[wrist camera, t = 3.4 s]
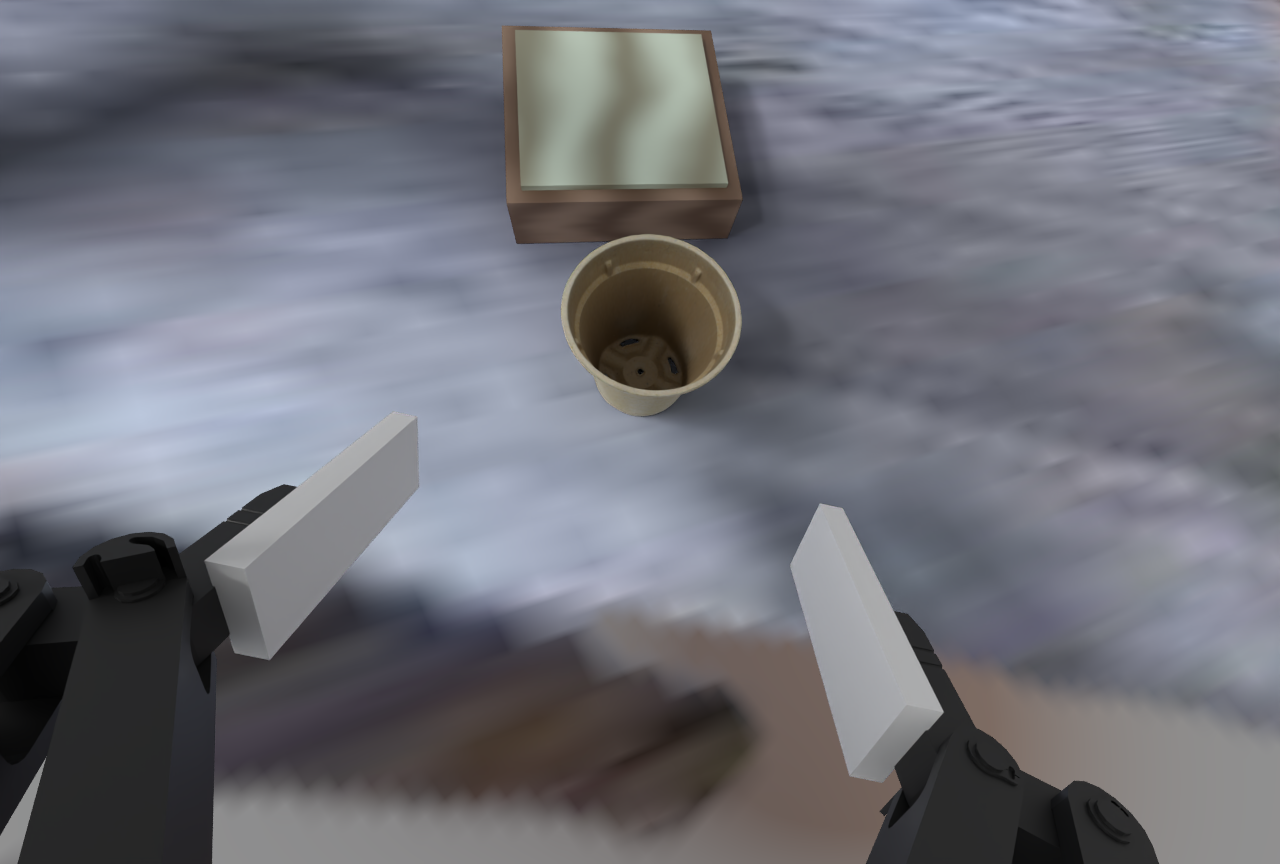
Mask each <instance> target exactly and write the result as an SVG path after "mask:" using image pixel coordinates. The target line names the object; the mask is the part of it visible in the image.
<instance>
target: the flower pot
mask: <svg viewBox="0 0 1280 864" xmlns="http://www.w3.org/2000/svg"><path fill="white" fill-rule="evenodd" d="M561 318H562V325H563V329H564V334H565V337H566V340H567V342H568V344H569V346H570V348H571V350H572V352H573V354H574V355H575V357H576V358H577V359H578V361H579V362H580V363H581V364H582V366H583V367H584V368H585V369H586V370H587V371H588V372H589V373H590V374H592V375H593V376H594V379H595V382H596V385H597V387H598V390H599V392H600V393H601V395H602V397H603V398H604V399H605V400H606V401H607V402H608V403H609V404H610V405H611V406H613V407H614V408H616V409H618V410H620V411H622V412H624V413H626V414H629V415H633V416H649V415H654V414H657V413H659V412H662V411H664V410H665V409H667V408H668V407H670V406H671V405H672V404H673V403H674V402H675V401H676V400H677V399H678V398H679V396H680V395H682V394H685V393H688V392H691V391H693V390H695V389H697V388H699V387H701V386H703V385H704V384H706V383H708V382H709V381H711V380H712V379H713V378H714V377H715V376H717V375H718V374H719V373H720V372H721V371H722V370H723V368H724V367H725V366H726V364H727V363H728V362H729V360H730V359H731V357H732V355H733V353H734V352H735V349H736V347H737V345H738V342H739V338H740V333H741V327H742V317H741V308H740V303H739V300H738V297H737V293H736V291H735V289H734V287H733V285H732V283H731V281H730V279H729V278H728V276H727V275H726V273H725V272H724V271H723V269H722V268H721V267H720V266H719V265H718V264H717V263H716V262H715V261H714V260H713V259H712V258H711V257H709V256H708V255H707V254H706V253H704V252H703V251H701V250H700V249H698V248H697V247H695V246H693V245H691V244H689V243H686V242H684V241H681V240H679V239H675V238H672V237H670V236H662V235H654V234H642V235H631V236H628V237H623V238H620V239H617V240H614V241H611V242H608V243H606V244H604V245H602V246H601V247H599V248H597V249H596V250H594V251H593V252H591V253H590V254H589V255H588V256H587V257H585V258H584V259H583V260H582V261H581V262H580V263H579V265H578V266H577V267H576V268H575V270H574V271H573V273H572V274H571V276H570V278H569V280H568V281H567V284H566V286H565V289H564V293H563V297H562V304H561ZM629 339H636V340H638V342H637V343H632V344H628V345H625V346H621V343H622V342H623V341H625V340H629ZM668 358H671V359H672V361H673V362H674V363H675V366H676V368H677V371H678V373H676V374H674V373H672V371H671V366H670V364H669V361H668ZM639 369H642V370H643V371H644V372H643V373H642V374H641V375H640V374H639V373H638V370H639ZM605 374H607V376H605Z"/></svg>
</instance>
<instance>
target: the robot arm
mask: <svg viewBox="0 0 1280 864" xmlns="http://www.w3.org/2000/svg"><path fill="white" fill-rule="evenodd" d="M418 488H419V463H418V428H417V416H412V415H407V414H403V413H398V412H394V411H393V412H392V413H390V414H389V415H388V416H387V417H385V418H384V419H383V420H382V421H380V422H379V423H378V424H377V425H375V426H374V427H373V428H371V429H370V430H369V431H368V432H366V433H365V434H364V435H363V436H361V437H360V438H359V439H358V440H356V441H355V442H354V443H353V444H351V445H350V446H349V447H347V448H346V449H345V450H344V451H342V452H341V453H340V454H339V455H337V456H336V457H335V458H334V459H332V460H331V461H330V462H328V463H327V464H326V465H325V466H323V467H322V468H321V469H320V470H318V471H317V472H316V473H315V474H313V475H312V476H311V477H310V478H308V479H307V480H306V481H304V482H303V483H302V484H301V485H299V486H298V487H295V486H290V485H285V484H283V485H281V486H279V487H276V488H274V489H271V490H269V491H267V492H264V493H262V494H260V495H259V496H257V497H256V498H254V499H253V500H252V501H250V502H249V503H248V504H246V505H245V506H244V507H242V510H241V511H240V510H238V511H237V512H235V513H234V514H233V515H231V516H230V517H229V518H227V521H226V522H224V521H223V522H222V523H221V524H219V525H218V526H217V527H215V528H214V529H212V530H211V531H210V532H208V533H207V534H206V535H204V536H203V537H202V538H200V539H199V540H198V541H196V542H195V543H193V544H192V545H191V546H189V547H188V548H187V549H185V550H184V551H183V552H181V553H180V554H179V553H178V550H177V548H176V545H175V542H174V539H173V538H171V537H169V536H168V535H166V534H163V533H155V532H144V533H134V534H128V535H125V536H121V537H117V538H114V539H111V540H108V541H106V542H104V543H102V544H100V545H97V546H95V547H93V548H92V549H90V550H89V551H88V552H86V553H85V554H83V555H82V556H81V557H79V559H78V560H77V562H76V563H75V565H74V566H73V567H72V568H73V570H74V572H75V574H76V576H77V577H78V579H79V581H80V583H81V585H82V587H63V588H50V586H49V584H48V582H47V581H46V579H45V577H44V575H43V573H40V572H37V571H34V570H32V569H12V570H6V571H0V835H1V833H2V831H3V830H4V828H5V826H6V825H7V823H8V821H9V819H10V818H11V816H12V814H13V813H14V811H15V809H16V808H17V806H18V804H19V802H20V801H21V799H22V797H23V796H24V794H25V792H26V790H27V789H28V787H29V785H30V784H31V782H32V780H33V779H34V777H35V775H36V773H37V772H38V770H39V768H40V767H41V765H42V763H43V762H44V760H45V758H46V761H45V764H44V768H43V772H42V776H41V779H40V783H39V787H38V791H37V794H36V798H35V801H34V805H33V809H32V812H31V816H30V820H29V823H28V827H27V831H26V835H25V838H24V842H23V846H22V849H21V853H20V857H19V860H18V864H212V836H213V795H214V753H215V710H216V668H217V659H216V656H215V653H214V650H215V649H216V648H217V647H218V646H219V645H220V644H221V643H222V642H223V641H224V640H225V639H226V638H227V637H228V636H229V637H230V641H231V644H232V647H233V650H234V653H237V654H242V655H247V656H252V657H257V658H262V659H267V660H270V659H271V658H272V657H273V655H274V654H275V653H276V652H277V651H278V650H279V648H280V647H281V646H282V645H283V644H284V643H285V642H286V640H287V639H288V638H289V637H290V636H291V635H292V633H293V632H294V631H295V630H296V629H297V628H298V626H299V625H300V624H301V623H302V622H303V621H304V620H305V618H306V617H307V616H308V615H309V614H310V613H311V611H312V610H313V609H314V608H315V607H316V606H317V605H318V603H319V602H320V601H321V600H322V599H323V598H324V596H325V595H326V594H327V593H328V592H329V591H330V589H331V588H332V587H333V586H334V585H335V584H336V583H337V581H338V580H339V579H340V578H341V577H342V576H343V574H344V573H345V572H346V571H347V570H348V569H349V567H350V566H351V565H352V564H353V563H354V562H355V561H356V559H357V558H358V557H359V556H360V555H361V554H362V552H363V551H364V550H365V549H366V548H367V547H368V546H369V544H370V543H371V542H372V541H373V540H374V539H375V537H376V536H377V535H378V534H379V533H380V532H381V530H382V529H383V528H384V527H385V526H386V525H387V524H388V522H389V521H390V520H391V519H392V518H393V517H394V515H395V514H396V513H397V512H398V511H399V510H400V508H401V507H402V506H403V505H404V504H405V503H406V502H407V500H408V499H409V498H410V497H411V496H412V495H413V493H414V492H415V491H416V490H417V489H418ZM790 567H791V571H792V574H793V578H794V582H795V585H796V589H797V592H798V596H799V599H800V603H801V606H802V610H803V613H804V617H805V620H806V624H807V627H808V631H809V634H810V638H811V642H812V645H813V649H814V652H815V656H816V659H817V663H818V666H819V670H820V673H821V677H822V680H823V684H824V687H825V690H826V694H827V698H828V702H829V705H830V708H831V712H832V716H833V719H834V722H835V726H836V730H837V733H838V737H839V740H840V744H841V747H842V751H843V755H844V758H845V761H846V765H847V769H848V772H849V776H852V777H857V778H862V779H867V780H872V781H877V782H883V781H884V780H885V779H886V778H887V777H888V776H889V774H890V773H891V772H892V771H893V770H894V769H895V770H896V773H897V775H898V778H899V781H900V783H901V786H902V788H901V789H900V790H899V791H898V792H897V793H896V794H895V795H894V796H893V798H892V799H891V800H890V801H889V802H888V803H887V804H886V805H885V806H884V807H883V808H882V810H881V811H880V812H881V813H882V814H883V815H884V816H885V815H886V814H887V815H886V817H885V820H884V822H883V825H882V827H881V829H880V832H879V834H878V836H877V839H876V841H875V843H874V846H873V848H872V851H871V853H870V855H869V858H868V860H867V863H866V864H1159V862H1158V860H1157V857H1156V854H1155V851H1154V848H1153V846H1152V844H1151V842H1150V840H1149V838H1148V836H1147V834H1146V832H1145V830H1144V829H1143V828H1142V826H1141V825H1140V824H1139V823H1138V821H1137V820H1136V819H1135V818H1134V816H1133V815H1132V814H1131V813H1130V812H1129V811H1128V810H1127V809H1126V808H1125V807H1124V806H1123V805H1122V804H1121V803H1119V802H1118V801H1117V800H1116V799H1115V798H1114V797H1112V796H1111V795H1109V794H1108V793H1106V792H1105V791H1104V790H1102V789H1100V788H1099V787H1097V786H1094V785H1092V784H1090V783H1087V782H1084V781H1073V782H1072V783H1071V784H1070V785H1068V786H1067V787H1066V788H1065V789H1063V790H1062V791H1061V790H1059V789H1057V788H1055V787H1053V786H1051V785H1049V784H1047V783H1045V782H1043V781H1041V780H1039V779H1037V778H1035V777H1033V776H1031V775H1029V774H1027V773H1025V772H1023V771H1021V770H1020V769H1019V767H1018V765H1017V763H1016V761H1015V760H1014V759H1013V758H1012V756H1011V755H1010V754H1009V753H1008V751H1007V750H1006V749H1005V748H1004V747H1003V746H1002V745H1001V744H1000V743H998V742H997V741H996V740H995V739H994V738H993V737H991V736H989V735H987V734H986V733H984V732H983V731H981V730H979V729H976V727H975V726H974V724H973V722H972V720H971V718H970V716H969V714H968V712H967V711H966V709H965V707H964V705H963V703H962V701H961V700H960V698H959V696H958V694H957V692H956V690H955V688H954V687H953V685H952V683H951V681H950V679H949V677H948V675H947V674H946V672H945V670H943V669H942V664H941V662H940V661H939V659H938V657H937V655H936V654H934V650H933V648H932V646H931V644H930V642H929V640H928V638H927V637H926V635H925V633H924V631H923V630H922V629H921V628H920V627H919V626H918V625H917V624H916V623H915V621H914V620H913V619H912V618H911V617H910V616H909V615H908V614H905V613H900V612H895V611H893V609H892V607H891V605H890V603H889V601H888V599H887V597H886V595H885V593H884V590H883V588H882V586H881V584H880V582H879V580H878V578H877V576H876V574H875V572H874V570H873V568H872V566H871V564H870V562H869V560H868V558H867V556H866V554H865V552H864V550H863V548H862V546H861V544H860V542H859V540H858V538H857V536H856V534H855V532H854V530H853V528H852V526H851V524H850V522H849V520H848V518H847V516H846V514H845V512H844V510H843V508H839V507H835V506H830V505H825V504H821V503H820V504H819V506H818V508H817V510H816V512H815V514H814V516H813V518H812V521H811V523H810V525H809V527H808V529H807V531H806V533H805V535H804V537H803V539H802V541H801V543H800V545H799V547H798V550H797V552H796V554H795V556H794V558H793V560H792V562H791V564H790ZM46 756H47V757H46Z"/></svg>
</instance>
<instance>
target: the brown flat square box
mask: <svg viewBox="0 0 1280 864" xmlns="http://www.w3.org/2000/svg"><path fill="white" fill-rule="evenodd" d="M502 49H503V86H504V123H505V160H506V197H507V207H508V211H509V215H510V219H511V223H512V227H513V231H514V235H515V239H516V243H517V244H520V243H558V242H596V241H614V240H617V239H620V238H623V237H628V236H631V235H642V234H654V235H662V236H670V237H672V238H675V239H711V238H728V235H729V233H730V230H731V228H732V225H733V223H734V220H735V218H736V215H737V213H738V210H739V208H740V205H741V203H742V200H743V198H742V193H741V187H740V182H739V177H738V172H737V166H736V161H735V156H734V150H733V145H732V140H731V135H730V129H729V124H728V119H727V114H726V108H725V103H724V98H723V92H722V87H721V82H720V77H719V71H718V66H717V61H716V55H715V50H714V45H713V40H712V34H711V31H702V30H661V29H619V28H577V27H535V26H502Z"/></svg>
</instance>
